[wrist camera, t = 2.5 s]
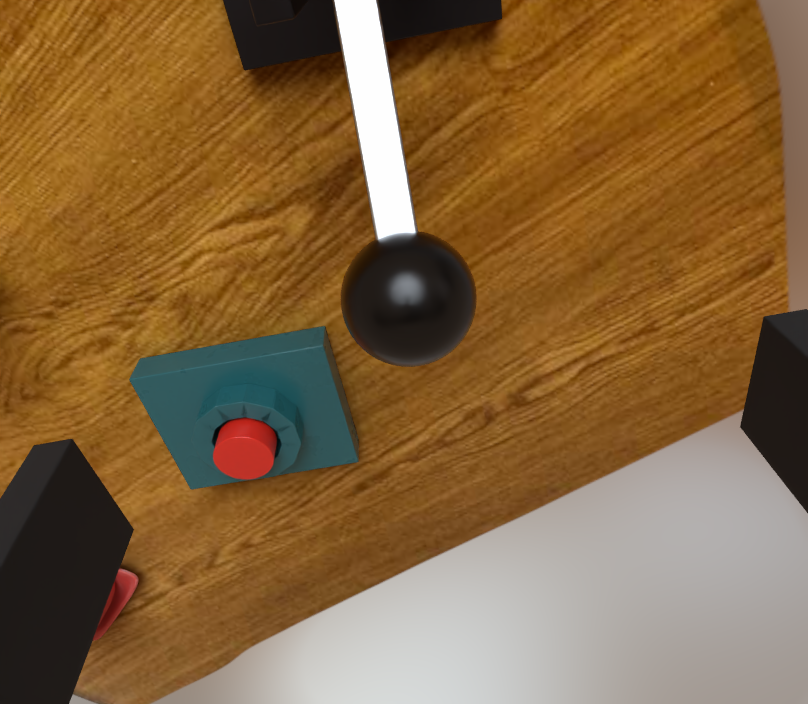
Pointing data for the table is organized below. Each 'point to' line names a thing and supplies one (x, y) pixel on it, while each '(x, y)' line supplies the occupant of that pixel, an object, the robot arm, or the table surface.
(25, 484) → the robot arm
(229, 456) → the button
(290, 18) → the bracket
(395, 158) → the lever
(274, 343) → the button box
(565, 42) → the table surface
